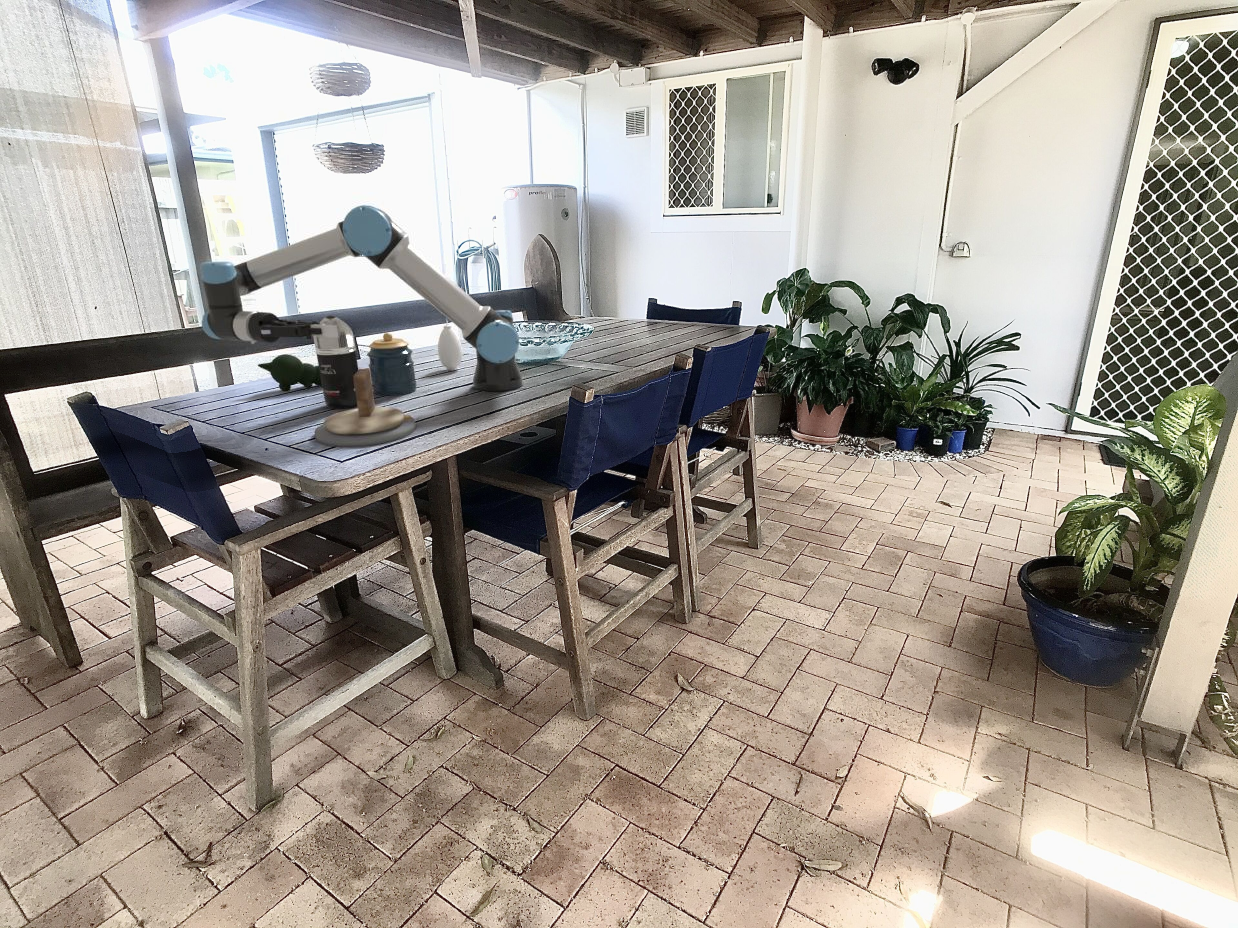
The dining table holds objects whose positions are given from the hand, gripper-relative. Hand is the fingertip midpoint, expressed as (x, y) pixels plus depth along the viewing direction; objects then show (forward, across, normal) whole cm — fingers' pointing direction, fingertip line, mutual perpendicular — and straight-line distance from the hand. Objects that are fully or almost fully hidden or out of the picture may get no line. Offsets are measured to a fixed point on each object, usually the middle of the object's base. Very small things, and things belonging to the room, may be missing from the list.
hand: (335, 331), depth 157 cm
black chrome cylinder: (-13, -14, -24) cm, 31 cm away
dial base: (+9, +5, -23) cm, 25 cm away
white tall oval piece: (-10, -64, -23) cm, 69 cm away
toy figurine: (-39, -29, -24) cm, 54 cm away
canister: (-10, -33, -23) cm, 41 cm away
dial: (+9, +5, -21) cm, 23 cm away
